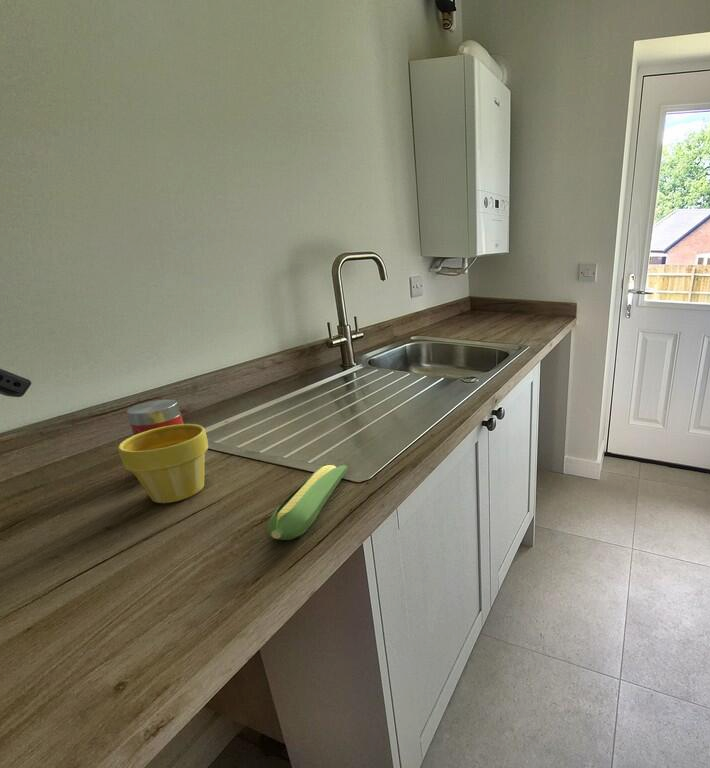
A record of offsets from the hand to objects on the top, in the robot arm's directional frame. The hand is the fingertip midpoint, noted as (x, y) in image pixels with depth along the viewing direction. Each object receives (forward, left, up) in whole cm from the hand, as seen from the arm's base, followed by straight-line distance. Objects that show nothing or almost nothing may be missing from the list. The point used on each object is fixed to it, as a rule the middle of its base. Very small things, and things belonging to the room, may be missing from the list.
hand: (22, 389), depth 47 cm
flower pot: (+11, +6, -22) cm, 25 cm away
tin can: (+12, +18, -22) cm, 31 cm away
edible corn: (+24, -14, -22) cm, 36 cm away
